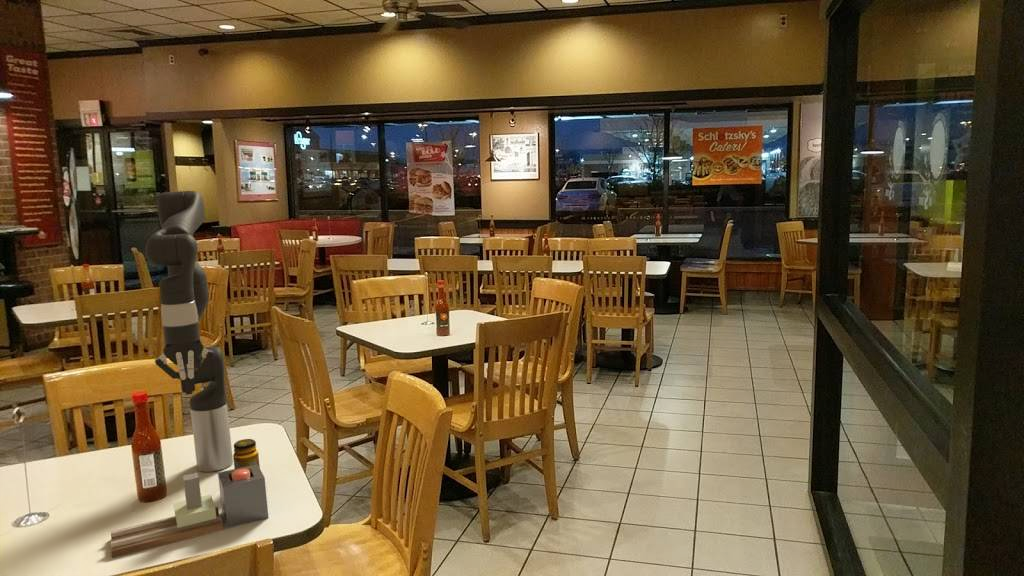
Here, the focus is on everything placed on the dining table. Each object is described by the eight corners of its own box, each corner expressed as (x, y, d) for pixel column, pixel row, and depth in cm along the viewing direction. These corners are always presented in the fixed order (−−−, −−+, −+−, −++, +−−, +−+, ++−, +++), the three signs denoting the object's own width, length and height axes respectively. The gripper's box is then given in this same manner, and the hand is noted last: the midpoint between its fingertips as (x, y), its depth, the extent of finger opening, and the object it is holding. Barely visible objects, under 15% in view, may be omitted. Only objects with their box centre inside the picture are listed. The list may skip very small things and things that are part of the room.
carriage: (174, 513, 164) (170, 474, 162) (212, 504, 167) (207, 466, 166) (177, 527, 157) (172, 487, 155) (216, 518, 161) (211, 478, 159)
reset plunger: (232, 495, 168) (230, 471, 167) (250, 491, 169) (248, 467, 168) (235, 502, 164) (232, 477, 163) (253, 497, 166) (251, 473, 165)
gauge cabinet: (222, 512, 169) (217, 472, 168) (261, 502, 174) (257, 464, 172) (227, 528, 162) (223, 487, 160) (268, 517, 166) (264, 477, 164)
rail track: (112, 539, 158) (110, 528, 158) (217, 513, 169) (216, 503, 168) (112, 557, 151) (110, 546, 150) (222, 529, 161) (221, 519, 161)
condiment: (266, 487, 182) (261, 443, 180) (231, 496, 177) (226, 451, 175) (258, 477, 188) (254, 434, 186) (224, 486, 183) (220, 442, 181)
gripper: (209, 314, 170) (217, 384, 173) (147, 322, 163) (156, 394, 166) (213, 320, 163) (221, 392, 166) (149, 328, 157) (158, 403, 160)
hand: (188, 393), depth 166 cm, fingers closed
